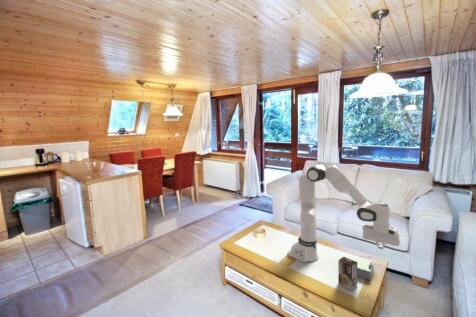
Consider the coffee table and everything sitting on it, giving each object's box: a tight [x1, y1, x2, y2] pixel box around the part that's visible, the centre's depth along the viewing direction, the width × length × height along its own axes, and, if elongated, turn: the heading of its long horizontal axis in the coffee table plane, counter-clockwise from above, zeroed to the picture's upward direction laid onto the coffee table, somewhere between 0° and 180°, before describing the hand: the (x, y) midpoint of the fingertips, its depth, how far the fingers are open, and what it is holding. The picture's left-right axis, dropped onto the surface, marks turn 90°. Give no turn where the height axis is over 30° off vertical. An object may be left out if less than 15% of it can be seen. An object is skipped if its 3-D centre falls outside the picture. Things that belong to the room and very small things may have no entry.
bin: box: [357, 263, 375, 282], centre depth 162 cm, size 15×13×5 cm
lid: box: [349, 256, 375, 272], centre depth 162 cm, size 15×13×3 cm
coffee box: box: [337, 256, 358, 292], centre depth 149 cm, size 9×6×16 cm
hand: (380, 248), depth 153 cm, fingers closed
